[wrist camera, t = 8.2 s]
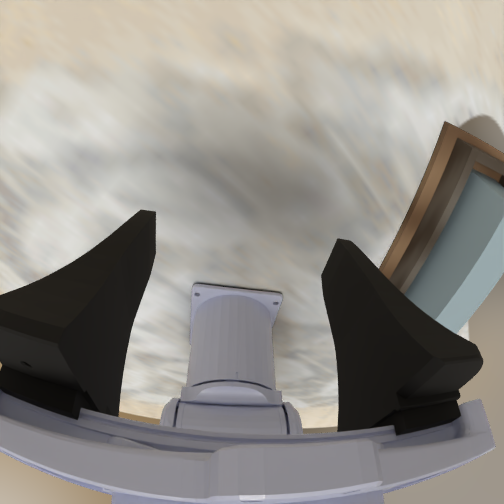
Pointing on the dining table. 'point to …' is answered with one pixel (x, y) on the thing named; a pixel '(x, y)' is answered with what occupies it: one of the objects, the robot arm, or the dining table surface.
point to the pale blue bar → (464, 256)
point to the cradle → (438, 200)
